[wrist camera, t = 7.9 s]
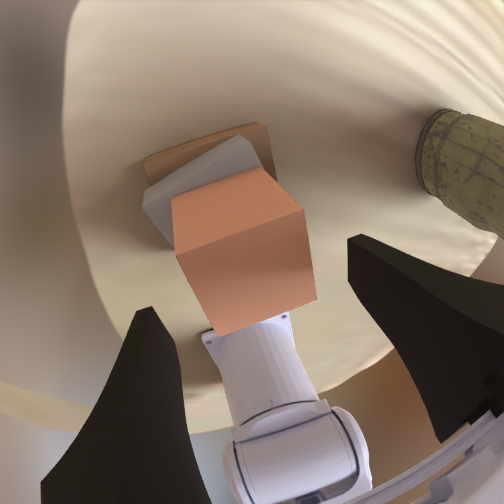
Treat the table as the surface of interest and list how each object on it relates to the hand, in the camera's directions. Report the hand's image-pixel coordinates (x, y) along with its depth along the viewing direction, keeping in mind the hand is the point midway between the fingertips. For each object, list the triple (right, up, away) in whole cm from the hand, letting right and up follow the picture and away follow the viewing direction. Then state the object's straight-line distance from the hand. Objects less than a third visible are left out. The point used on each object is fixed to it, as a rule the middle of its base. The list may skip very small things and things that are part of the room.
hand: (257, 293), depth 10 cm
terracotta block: (-1, +3, +5) cm, 6 cm away
